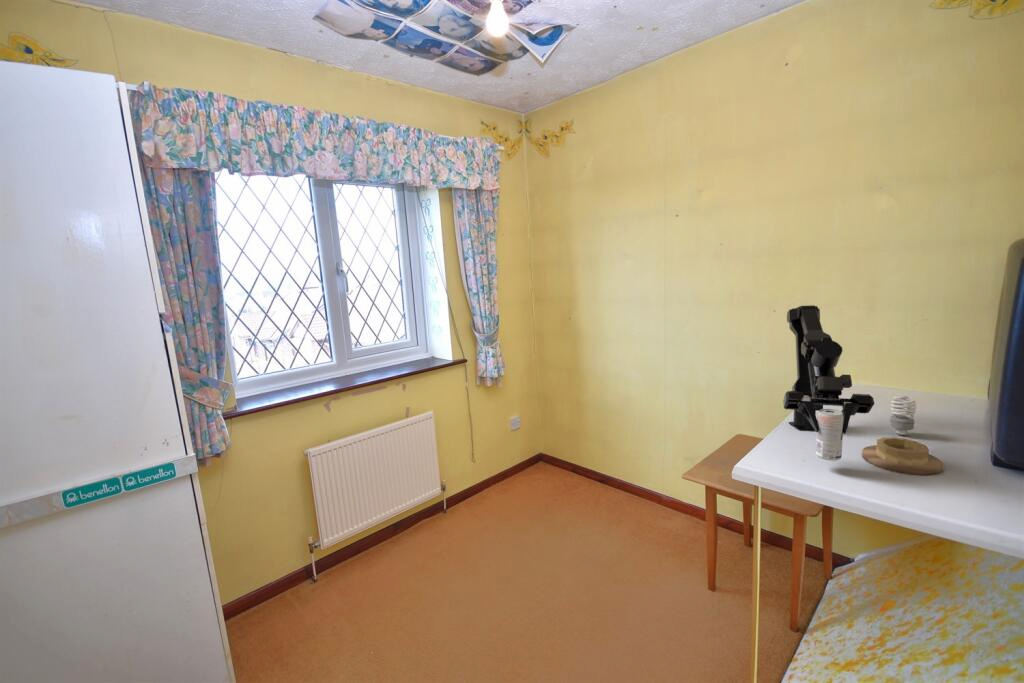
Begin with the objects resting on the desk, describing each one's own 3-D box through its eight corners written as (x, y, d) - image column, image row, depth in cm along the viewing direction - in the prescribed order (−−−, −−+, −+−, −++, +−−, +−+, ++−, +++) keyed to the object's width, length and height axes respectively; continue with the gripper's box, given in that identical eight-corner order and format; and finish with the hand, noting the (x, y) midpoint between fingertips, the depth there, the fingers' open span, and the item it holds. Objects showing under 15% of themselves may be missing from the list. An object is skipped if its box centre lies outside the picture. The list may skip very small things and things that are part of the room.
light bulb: (887, 436, 131) (890, 397, 129) (889, 430, 135) (892, 392, 133) (913, 440, 127) (916, 400, 125) (914, 434, 131) (917, 395, 129)
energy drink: (840, 454, 114) (842, 409, 112) (842, 462, 110) (845, 416, 108) (815, 451, 117) (816, 407, 115) (816, 459, 112) (818, 414, 110)
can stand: (847, 450, 124) (848, 434, 123) (908, 448, 122) (909, 431, 122) (892, 476, 108) (893, 458, 107) (962, 474, 107) (964, 456, 106)
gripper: (786, 361, 117) (792, 415, 108) (874, 363, 109) (887, 421, 101) (781, 382, 125) (786, 434, 117) (862, 385, 117) (873, 440, 109)
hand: (831, 432), depth 111 cm, fingers closed on energy drink, 5 cm apart
